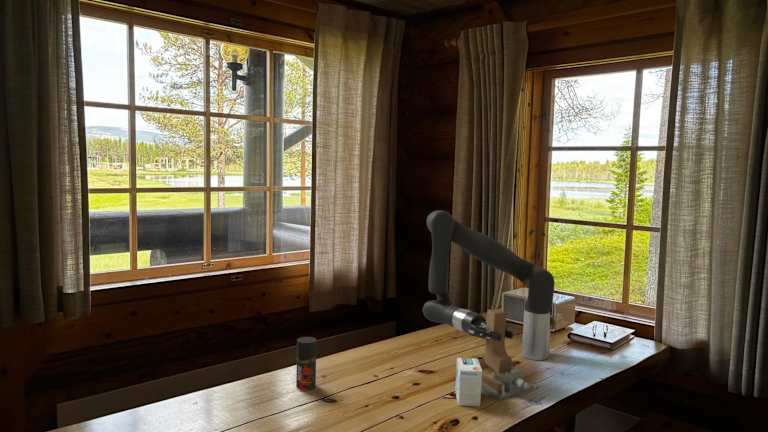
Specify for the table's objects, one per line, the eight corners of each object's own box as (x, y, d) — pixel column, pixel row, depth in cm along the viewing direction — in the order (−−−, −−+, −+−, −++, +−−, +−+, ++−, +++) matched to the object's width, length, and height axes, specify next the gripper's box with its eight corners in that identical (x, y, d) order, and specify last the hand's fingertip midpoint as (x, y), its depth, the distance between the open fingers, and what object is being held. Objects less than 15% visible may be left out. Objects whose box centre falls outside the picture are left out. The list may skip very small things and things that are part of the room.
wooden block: (511, 372, 173) (515, 316, 171) (499, 373, 171) (502, 317, 169) (495, 361, 181) (499, 308, 179) (483, 363, 179) (487, 309, 177)
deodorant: (318, 384, 173) (319, 338, 171) (310, 392, 167) (311, 344, 166) (301, 381, 175) (302, 335, 173) (292, 389, 169) (293, 341, 167)
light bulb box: (454, 390, 172) (456, 357, 171) (476, 391, 172) (478, 357, 170) (458, 405, 161) (459, 370, 160) (481, 406, 161) (483, 371, 160)
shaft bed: (501, 374, 186) (502, 354, 185) (538, 390, 173) (539, 369, 173) (466, 384, 177) (467, 362, 176) (502, 402, 164) (503, 379, 164)
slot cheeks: (498, 373, 184) (498, 365, 184) (524, 384, 176) (524, 376, 175) (472, 380, 178) (472, 372, 177) (497, 392, 169) (497, 384, 168)
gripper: (453, 313, 182) (491, 328, 168) (484, 308, 190) (522, 322, 176) (452, 336, 183) (489, 352, 169) (483, 329, 191) (521, 344, 177)
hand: (506, 336), depth 173 cm, fingers closed on wooden block, 4 cm apart
